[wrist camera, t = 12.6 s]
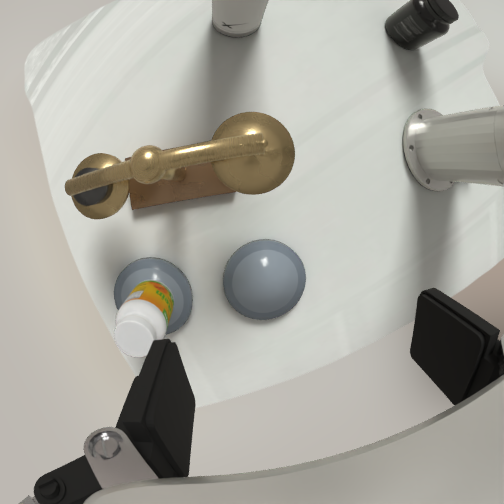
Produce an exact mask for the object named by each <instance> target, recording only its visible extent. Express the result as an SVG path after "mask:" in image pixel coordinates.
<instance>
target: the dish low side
mask: <svg viewBox="0 0 504 504" xmlns="http://www.w3.org/2000/svg"><path fill="white" fill-rule="evenodd" d="M145 280H157V281H160V282H162V283H164V284H165V285H166V286H167V287H168V288H169V289H170V290H171V292H172V294H173V297H174V308H173V311H172V314H171V317H170V321H169V324H168V327H167V331H166V334H169V333H172V332H174V331H176V330H177V329H179V328H180V327H181V326H182V325H183V324H184V323H185V322H186V320H187V319H188V317H189V315H190V312H191V308H192V301H193V295H192V289H191V286H190V284H189V281H188V279H187V278H186V276H185V275H184V274H183V272H182V271H181V270H180V269H179V268H177V267H176V266H175V265H173V264H172V263H170V262H168V261H166V260H163V259H160V258H151V257H149V258H142V259H139V260H136V261H134V262H132V263H131V264H129V265H128V266H127V267H126V268H125V269H124V270H123V271H122V272H121V273H120V275H119V276H118V278H117V281H116V284H115V288H114V299H115V303H116V306H117V309H118V310H119V309H120V307H121V306H122V304H123V303H124V302H125V300H126V299H127V297H128V296H129V295H130V293H131V292H132V290H133V289H134V288H135V287H136V286H137V285H138V284H139V283H140V282H142V281H145Z"/></svg>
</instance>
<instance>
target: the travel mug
mask: <svg viewBox="0 0 504 504" xmlns="http://www.w3.org/2000/svg"><path fill="white" fill-rule="evenodd" d="M267 3H268V0H212V23H213V26H214V27H215V29H216V30H217V31H219V32H220V33H222V34H224V35H227V36H230V37H243V36H247V35H250V34H252V33H254V32H255V31H257V29H258V28H259V26H260V24H261V21H262V18H263V15H264V12H265V9H266V6H267Z"/></svg>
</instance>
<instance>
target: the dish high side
mask: <svg viewBox="0 0 504 504" xmlns="http://www.w3.org/2000/svg"><path fill="white" fill-rule="evenodd" d="M305 282H306V274H305V269H304V265H303V263H302V261H301V259H300V258H299V256H298V255H297V254H296V253H295V252H294V251H293V250H292V249H291V248H289V247H288V246H287V245H285V244H283V243H281V242H278V241H275V240H269V239H262V240H256V241H252V242H249V243H247V244H245V245H243V246H242V247H240V248H239V249H238V250H237V251H236V252H235V253H234V254H233V255H232V256H231V257H230V259H229V261H228V263H227V265H226V267H225V270H224V276H223V283H224V291H225V295H226V297H227V299H228V301H229V303H230V304H231V305H232V307H233V308H234V309H235V310H236V311H238V312H239V313H240V314H242V315H244V316H246V317H249V318H252V319H257V320H267V319H273V318H276V317H279V316H281V315H283V314H285V313H286V312H288V311H289V310H290V309H292V308H293V307H294V306H295V305H296V303H297V302H298V301H299V299H300V298H301V296H302V293H303V291H304V288H305Z"/></svg>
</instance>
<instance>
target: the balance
mask: <svg viewBox="0 0 504 504" xmlns="http://www.w3.org/2000/svg"><path fill="white" fill-rule="evenodd" d="M294 159H295V149H294V144H293V141H292V138H291V136H290V134H289V132H288V131H287V129H286V128H285V127H284V126H283V125H282V124H281V123H280V122H279V121H278V120H276V119H275V118H273V117H271V116H269V115H266V114H263V113H259V112H245V113H240V114H237V115H235V116H232V117H230V118H229V119H227V120H226V121H225V122H223V123H222V124H221V125H220V126H219V128H218V129H217V130H216V132H215V134H214V136H213V138H212V141H207V142H202V143H197V144H192V145H187V146H182V147H176V148H171V149H166V150H161V149H160V148H158V147H156V146H152V145H147V146H143V147H141V148H139V149H137V150H136V151H135V152H134V154H133V155H132V157H129V158H125V161H124V162H121V161H120V160H119V159H118V158H116V157H115V156H112V155H109V154H104V153H98V154H93V155H91V156H89V157H87V158H85V159H84V160H83V161H82V162H81V163H80V164H79V165H78V167H77V168H76V170H75V172H74V174H73V177H72V179H70V180H67V181H66V183H65V191H66V193H67V194H68V195H70V196H72V200H73V202H74V204H75V206H76V208H77V209H78V210H79V211H80V212H81V213H82V214H83V215H84V216H86V217H88V218H91V219H103V218H107V217H110V216H112V215H114V214H115V213H117V212H118V211H119V210H120V209H121V208H122V207H123V205H124V204H125V202H126V200H127V198H128V195H129V193H130V199H131V206H132V210H134V209H139V208H144V207H149V206H154V205H159V204H165V203H170V202H176V201H181V200H187V199H193V198H199V197H206V196H212V195H218V194H225V193H232V192H236V191H237V192H240V193H244V194H252V195H254V194H262V193H266V192H269V191H271V190H273V189H275V188H276V187H278V186H279V185H280V184H282V183H283V182H284V181H285V179H286V178H287V177H288V175H289V174H290V172H291V170H292V167H293V164H294Z"/></svg>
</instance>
